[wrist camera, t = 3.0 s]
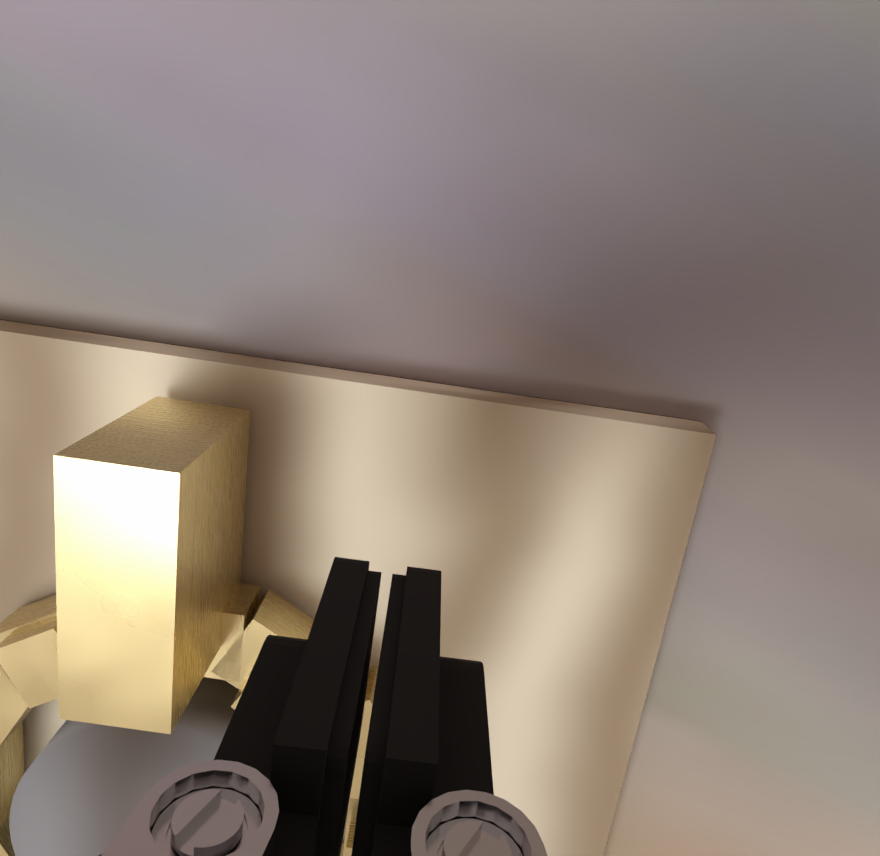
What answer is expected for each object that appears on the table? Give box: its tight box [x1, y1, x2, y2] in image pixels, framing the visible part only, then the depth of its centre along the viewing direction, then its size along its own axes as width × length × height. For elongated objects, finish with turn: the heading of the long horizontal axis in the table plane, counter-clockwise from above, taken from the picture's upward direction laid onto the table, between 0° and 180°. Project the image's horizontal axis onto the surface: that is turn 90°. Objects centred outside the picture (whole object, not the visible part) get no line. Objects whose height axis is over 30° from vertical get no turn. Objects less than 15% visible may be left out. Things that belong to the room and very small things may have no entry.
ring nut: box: [0, 396, 378, 856], centre depth 18 cm, size 14×19×5 cm
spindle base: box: [0, 320, 717, 856], centre depth 21 cm, size 26×26×4 cm
